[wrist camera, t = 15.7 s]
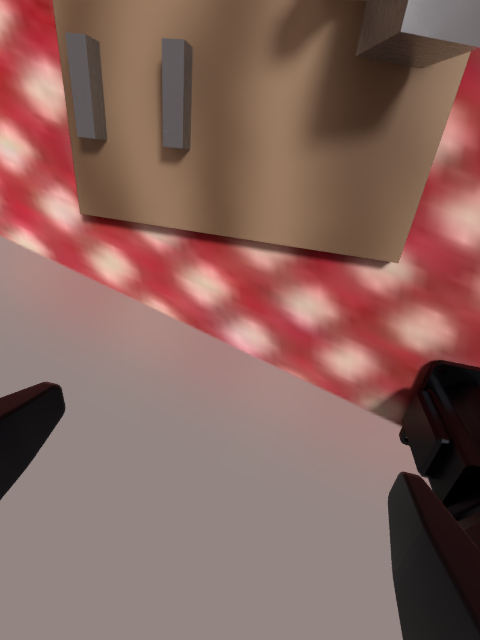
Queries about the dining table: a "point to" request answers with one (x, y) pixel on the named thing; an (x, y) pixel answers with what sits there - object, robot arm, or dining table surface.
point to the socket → (91, 95)
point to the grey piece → (418, 30)
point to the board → (259, 123)
